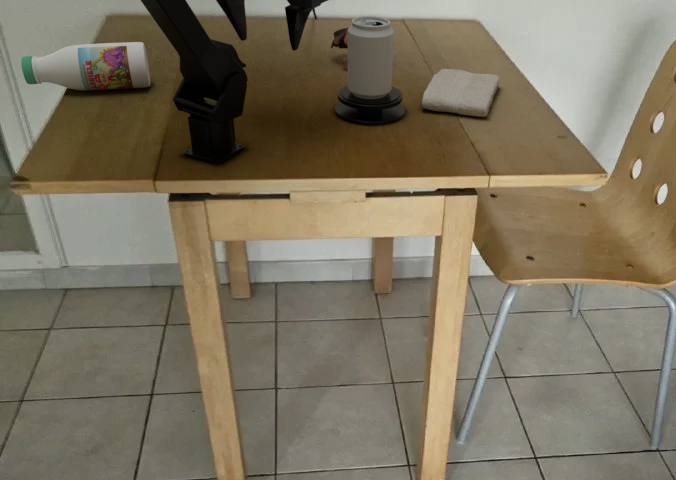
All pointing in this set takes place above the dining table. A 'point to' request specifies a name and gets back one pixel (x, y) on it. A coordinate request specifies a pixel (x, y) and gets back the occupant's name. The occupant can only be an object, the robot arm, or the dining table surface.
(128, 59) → the milk bottle
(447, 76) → the washcloth
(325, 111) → the dining table surface
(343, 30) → the pottery mug
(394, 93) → the stand
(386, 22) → the can
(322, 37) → the dining table surface
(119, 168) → the dining table surface
